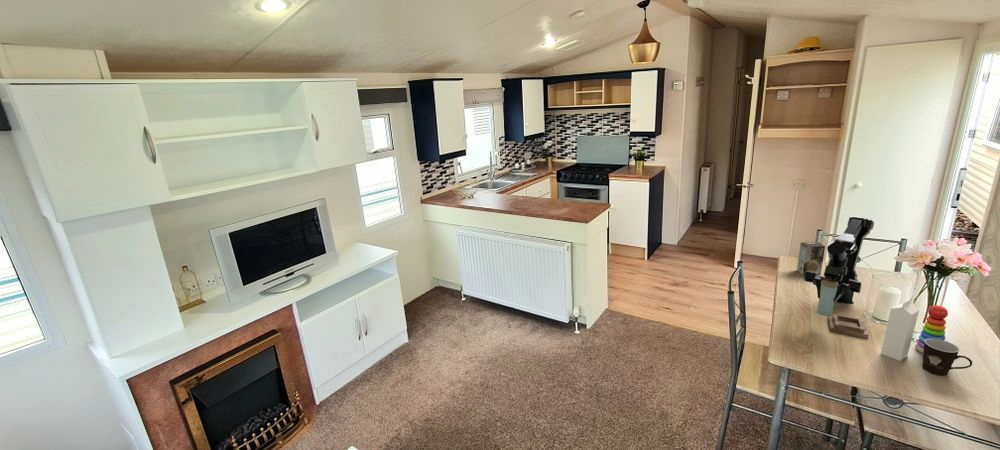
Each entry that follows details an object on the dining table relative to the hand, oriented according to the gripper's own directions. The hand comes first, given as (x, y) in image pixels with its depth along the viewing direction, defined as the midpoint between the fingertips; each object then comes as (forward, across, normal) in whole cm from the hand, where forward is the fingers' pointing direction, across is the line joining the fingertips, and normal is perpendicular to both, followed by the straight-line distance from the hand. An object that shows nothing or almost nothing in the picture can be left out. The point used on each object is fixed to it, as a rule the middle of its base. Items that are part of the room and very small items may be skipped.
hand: (826, 299), depth 178 cm
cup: (+4, 0, +6) cm, 7 cm away
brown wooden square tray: (+4, +8, +15) cm, 17 cm away
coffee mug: (+15, +35, +4) cm, 39 cm away
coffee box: (-33, -17, +53) cm, 65 cm away
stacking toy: (+5, +32, +14) cm, 36 cm away
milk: (+13, +23, +6) cm, 27 cm away
